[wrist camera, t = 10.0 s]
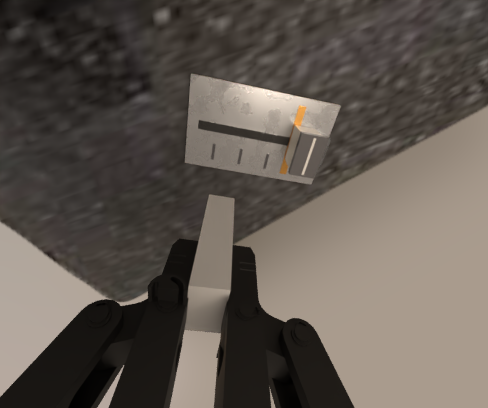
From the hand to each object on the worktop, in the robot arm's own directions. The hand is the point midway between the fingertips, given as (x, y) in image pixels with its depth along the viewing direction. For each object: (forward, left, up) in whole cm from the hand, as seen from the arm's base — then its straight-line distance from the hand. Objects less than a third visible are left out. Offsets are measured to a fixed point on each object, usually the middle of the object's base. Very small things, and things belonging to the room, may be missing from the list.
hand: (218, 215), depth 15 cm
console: (0, +4, -23) cm, 24 cm away
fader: (0, +10, -21) cm, 24 cm away
